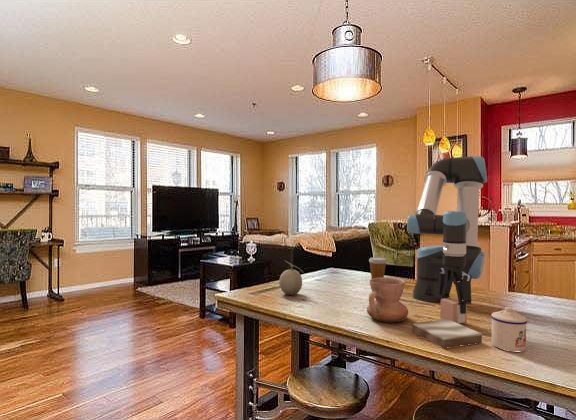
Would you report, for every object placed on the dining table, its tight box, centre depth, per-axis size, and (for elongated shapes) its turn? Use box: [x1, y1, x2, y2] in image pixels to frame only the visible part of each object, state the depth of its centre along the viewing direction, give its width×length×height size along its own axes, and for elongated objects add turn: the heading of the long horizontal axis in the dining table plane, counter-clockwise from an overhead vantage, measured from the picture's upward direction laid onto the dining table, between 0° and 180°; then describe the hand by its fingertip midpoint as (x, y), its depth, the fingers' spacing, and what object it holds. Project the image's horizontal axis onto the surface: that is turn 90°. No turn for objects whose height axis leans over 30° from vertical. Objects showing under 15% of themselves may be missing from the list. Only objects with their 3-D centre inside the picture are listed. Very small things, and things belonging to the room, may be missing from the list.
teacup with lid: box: [490, 306, 528, 352], centre depth 105 cm, size 12×9×12 cm
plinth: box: [412, 319, 483, 349], centre depth 112 cm, size 14×14×3 cm
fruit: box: [278, 260, 305, 296], centre depth 163 cm, size 10×12×15 cm
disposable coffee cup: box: [368, 256, 387, 279], centre depth 195 cm, size 10×10×12 cm
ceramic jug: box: [366, 276, 409, 323], centre depth 129 cm, size 18×14×14 cm
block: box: [439, 297, 468, 324], centre depth 126 cm, size 6×6×7 cm
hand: (453, 319), depth 126 cm, fingers closed on block, 6 cm apart
